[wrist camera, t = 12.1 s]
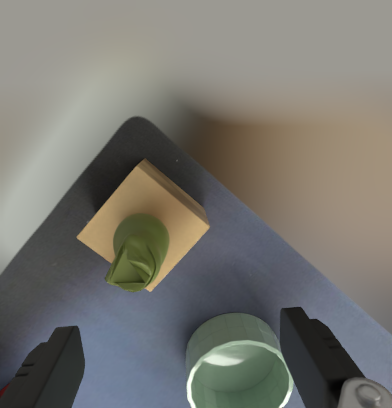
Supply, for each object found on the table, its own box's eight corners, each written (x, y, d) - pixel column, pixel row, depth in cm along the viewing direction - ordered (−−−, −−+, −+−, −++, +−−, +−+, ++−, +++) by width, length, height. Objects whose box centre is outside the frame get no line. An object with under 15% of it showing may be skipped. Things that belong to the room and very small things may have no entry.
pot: (171, 332, 44) (170, 363, 39) (262, 298, 44) (275, 324, 38) (205, 404, 48) (208, 442, 42) (289, 373, 48) (305, 407, 42)
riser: (95, 216, 40) (75, 237, 32) (144, 157, 38) (136, 165, 30) (155, 261, 42) (150, 292, 34) (203, 208, 40) (210, 227, 32)
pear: (155, 263, 33) (147, 320, 23) (110, 244, 32) (81, 294, 23) (178, 219, 32) (178, 259, 22) (131, 198, 31) (110, 229, 21)
